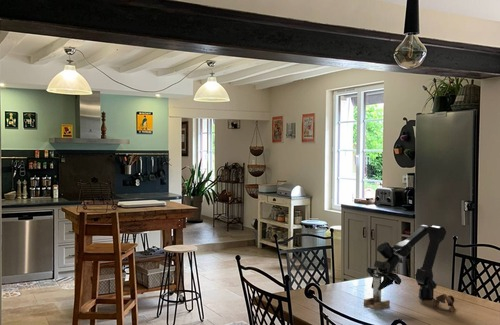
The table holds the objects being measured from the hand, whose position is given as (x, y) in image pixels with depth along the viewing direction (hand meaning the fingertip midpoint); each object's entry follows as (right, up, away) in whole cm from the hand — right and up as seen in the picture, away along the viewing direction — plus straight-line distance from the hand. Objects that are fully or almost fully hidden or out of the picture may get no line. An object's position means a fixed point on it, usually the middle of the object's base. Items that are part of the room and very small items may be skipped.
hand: (375, 289), depth 250 cm
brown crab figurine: (+34, -10, -1) cm, 36 cm away
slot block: (+1, -9, +1) cm, 9 cm away
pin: (+1, -7, +1) cm, 7 cm away
